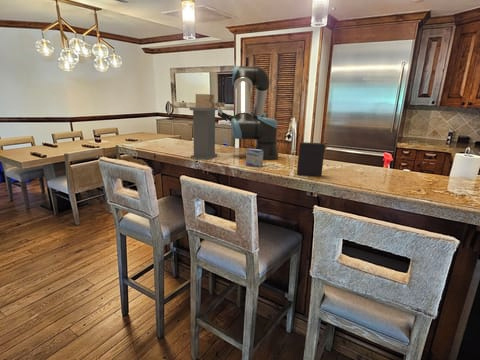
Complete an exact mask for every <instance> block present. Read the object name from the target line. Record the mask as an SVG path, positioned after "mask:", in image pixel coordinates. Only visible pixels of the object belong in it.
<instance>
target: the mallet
mask: <svg viewBox="0 0 480 360" xmlns="http://www.w3.org/2000/svg"><path fill="white" fill-rule="evenodd" d="M225 105H226V104H225V102H215V94H212V93H211V94H209V93H206V94H205V93H204V94H203V93H202V94H201V93H195V107H202V108H214V107H217V108H218V107H220V108H225Z"/></svg>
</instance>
